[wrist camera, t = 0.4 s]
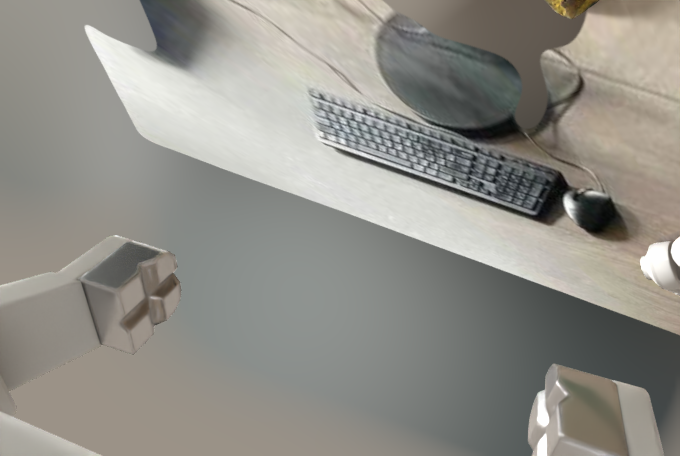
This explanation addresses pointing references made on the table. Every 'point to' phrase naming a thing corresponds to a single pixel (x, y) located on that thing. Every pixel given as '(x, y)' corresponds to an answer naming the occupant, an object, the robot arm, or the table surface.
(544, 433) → the robot arm
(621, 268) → the table surface
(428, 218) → the table surface
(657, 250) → the headphones
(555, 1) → the seal
